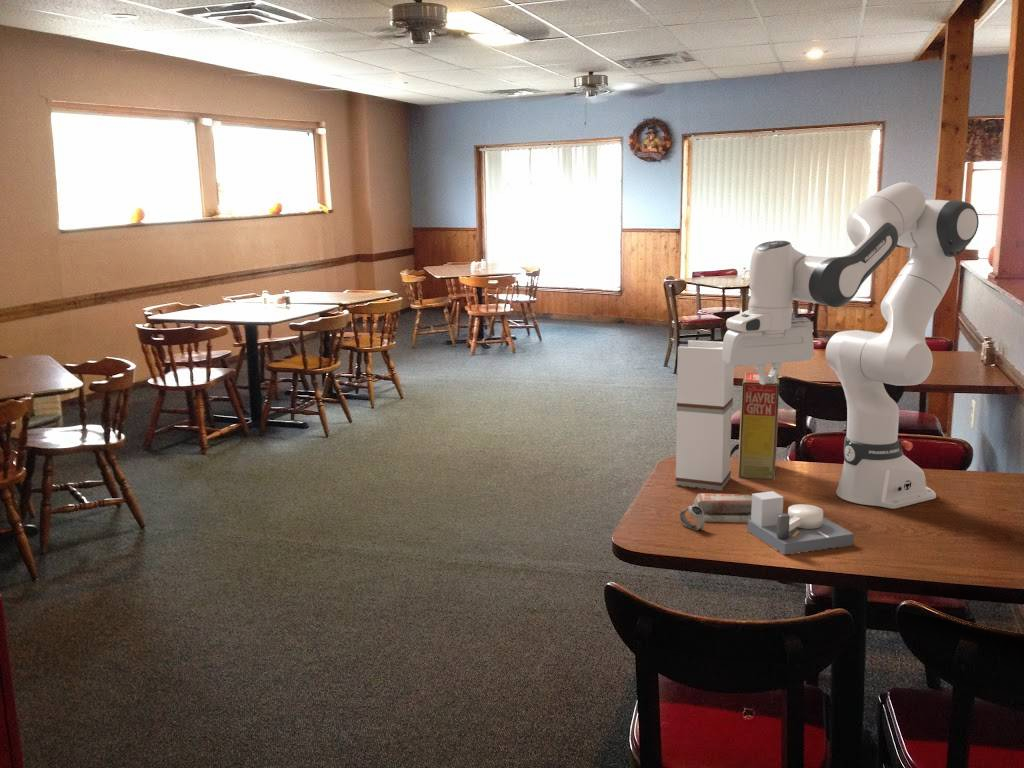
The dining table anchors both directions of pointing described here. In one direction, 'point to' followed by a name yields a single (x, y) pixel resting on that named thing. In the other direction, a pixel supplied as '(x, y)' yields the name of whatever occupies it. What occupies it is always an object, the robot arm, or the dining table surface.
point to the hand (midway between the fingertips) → (767, 383)
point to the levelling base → (799, 538)
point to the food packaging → (758, 427)
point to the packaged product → (725, 507)
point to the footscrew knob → (799, 519)
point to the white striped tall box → (703, 416)
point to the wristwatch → (696, 513)
